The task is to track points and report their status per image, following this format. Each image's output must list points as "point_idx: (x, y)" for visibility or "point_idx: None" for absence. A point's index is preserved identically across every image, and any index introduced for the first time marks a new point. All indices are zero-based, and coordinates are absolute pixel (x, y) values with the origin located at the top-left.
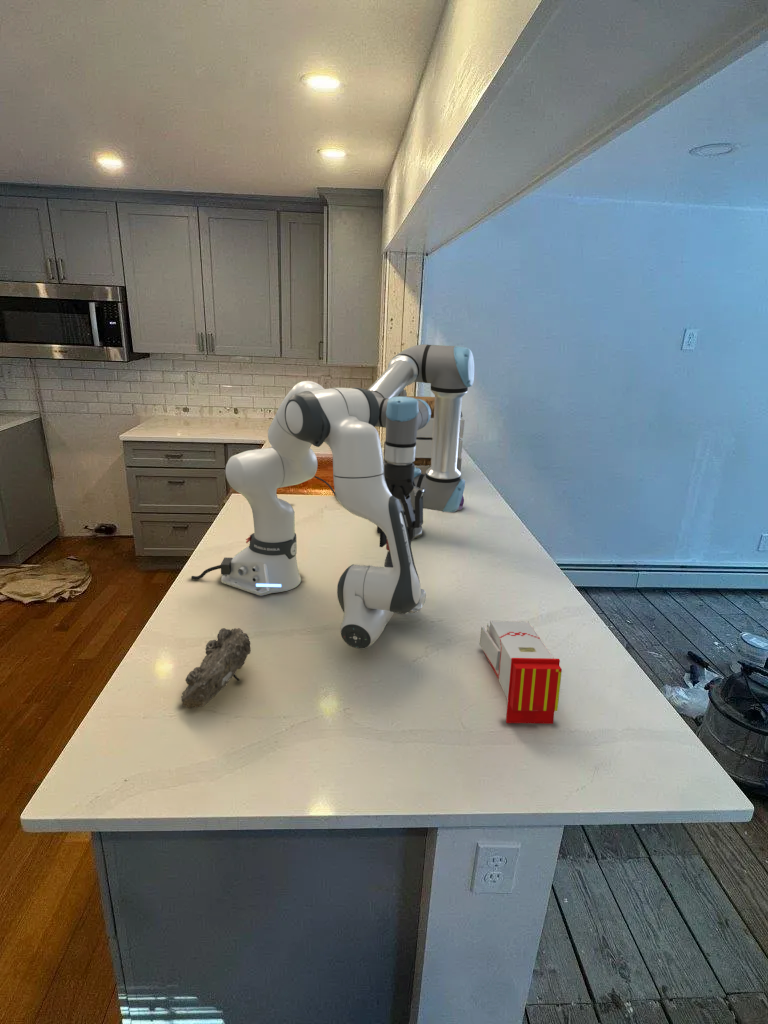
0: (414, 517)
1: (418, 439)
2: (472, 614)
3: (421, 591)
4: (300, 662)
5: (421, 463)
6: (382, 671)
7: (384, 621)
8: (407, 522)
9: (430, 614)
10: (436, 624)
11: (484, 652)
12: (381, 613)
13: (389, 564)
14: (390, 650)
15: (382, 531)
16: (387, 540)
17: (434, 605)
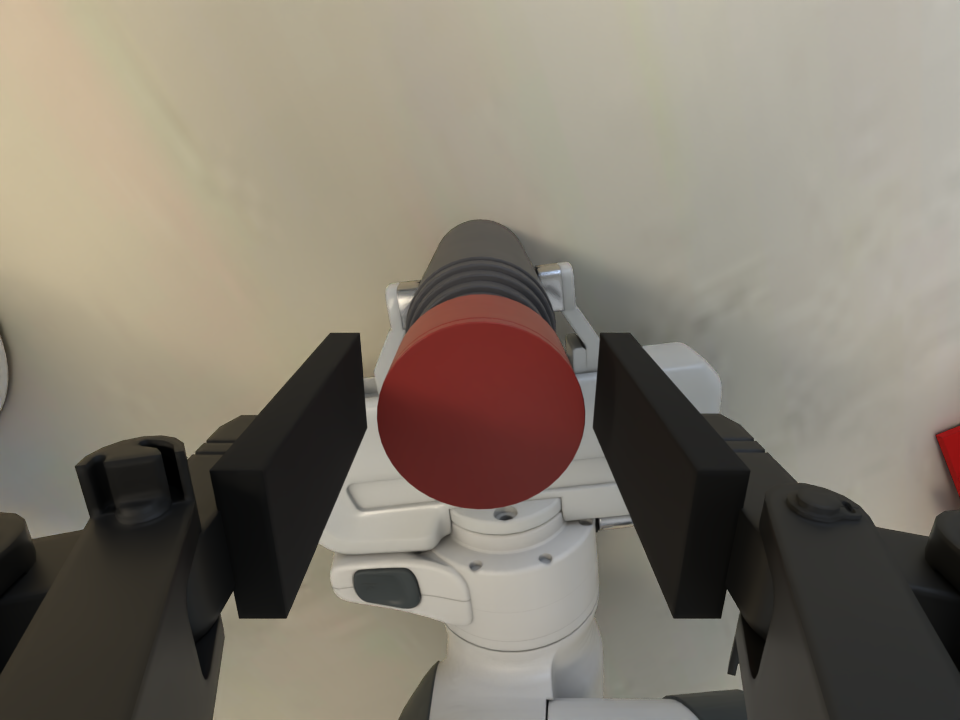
0: (922, 626)
1: None
2: (882, 163)
3: (701, 403)
4: (387, 707)
5: None
6: (620, 652)
7: (603, 661)
8: (751, 709)
9: (680, 268)
10: (724, 336)
11: (946, 457)
12: (595, 691)
13: None
14: (605, 562)
15: (317, 534)
16: (413, 484)
17: (678, 171)
